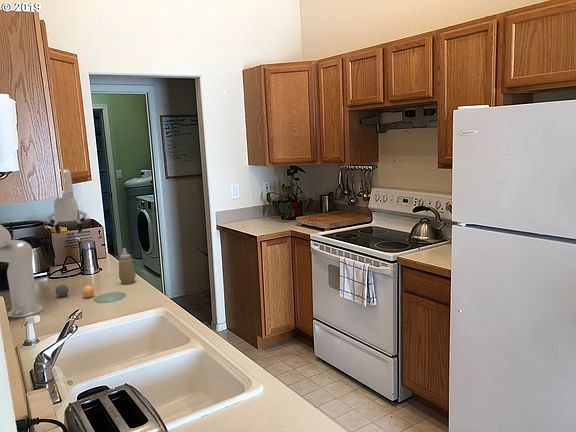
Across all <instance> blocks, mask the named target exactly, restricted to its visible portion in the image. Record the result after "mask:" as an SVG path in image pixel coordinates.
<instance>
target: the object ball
mask: <svg viewBox="0 0 576 432" xmlns="http://www.w3.org/2000/svg"><path fill="white" fill-rule="evenodd" d="M81 295H82V296H83V297H85V298H91V297H93V296H94V295H95V288H94V287H93V286H92V285H90V284H89V285H84V287H82V289H81Z"/></svg>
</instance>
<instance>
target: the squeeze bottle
mask: <svg viewBox="0 0 576 432" xmlns="http://www.w3.org/2000/svg"><path fill="white" fill-rule="evenodd" d="M121 252H122V254H121V255H119V256H120V258H119V260H118V278H119V280H120V282H121V285H130V284H134V283H135V280H136V270H135V265H134V261H133V258H131V254H129V253H128V252H127V249H126V247H123V248H122V251H121Z"/></svg>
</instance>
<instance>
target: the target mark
mask: <svg viewBox="0 0 576 432" xmlns="http://www.w3.org/2000/svg"><path fill="white" fill-rule="evenodd" d="M126 296H127V293H125V292H122V291H121V292H120V291H116V292H115V291H114V292H107V293H103V294H100V295H98V296H95V297H94V298H93V302H95V303H98V304H107V303H115V302H117V301H121V300H123V299H124V298H125V297H126Z"/></svg>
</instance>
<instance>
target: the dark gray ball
mask: <svg viewBox="0 0 576 432" xmlns="http://www.w3.org/2000/svg"><path fill="white" fill-rule="evenodd" d="M68 293H69V287H68V286H67V285H65V284H60V285H58V286H57V287H56V288H55V294H56V296H58V297H62V298H63V297H66V296H67V295H68Z"/></svg>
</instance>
